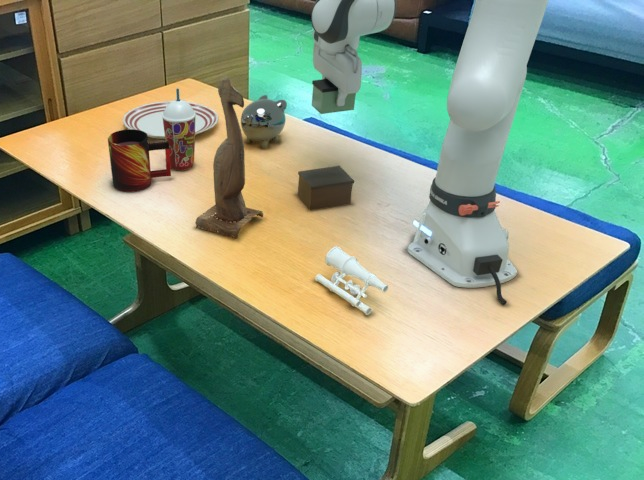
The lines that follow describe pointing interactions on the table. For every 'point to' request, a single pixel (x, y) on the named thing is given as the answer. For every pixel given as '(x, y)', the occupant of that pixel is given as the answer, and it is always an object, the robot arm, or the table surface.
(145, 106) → the dinner plate
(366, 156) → the table surface
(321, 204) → the walnut box
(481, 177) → the robot arm
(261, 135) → the piggy bank
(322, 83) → the green lidded box
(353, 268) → the white tapered barrel part
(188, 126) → the smoothie
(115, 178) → the mug
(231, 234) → the bird sculpture
